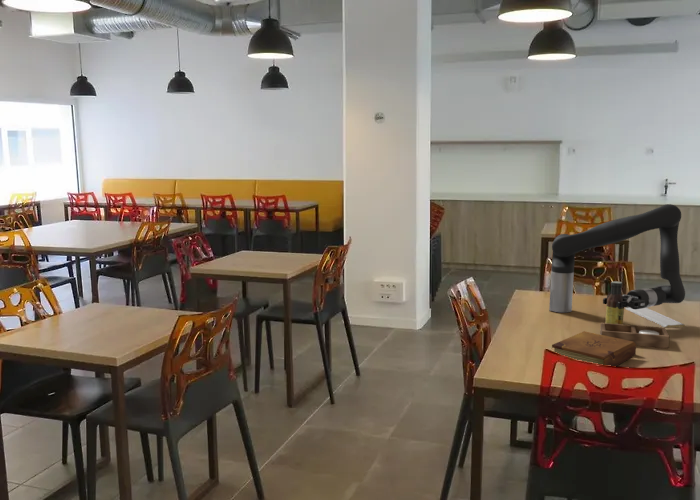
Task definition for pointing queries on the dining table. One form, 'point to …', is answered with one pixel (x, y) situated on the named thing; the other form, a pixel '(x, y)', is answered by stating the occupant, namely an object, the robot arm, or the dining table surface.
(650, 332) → the white oval piece
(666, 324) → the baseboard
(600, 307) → the dining table surface
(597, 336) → the diary
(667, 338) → the caddy
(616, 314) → the sauce bottle
